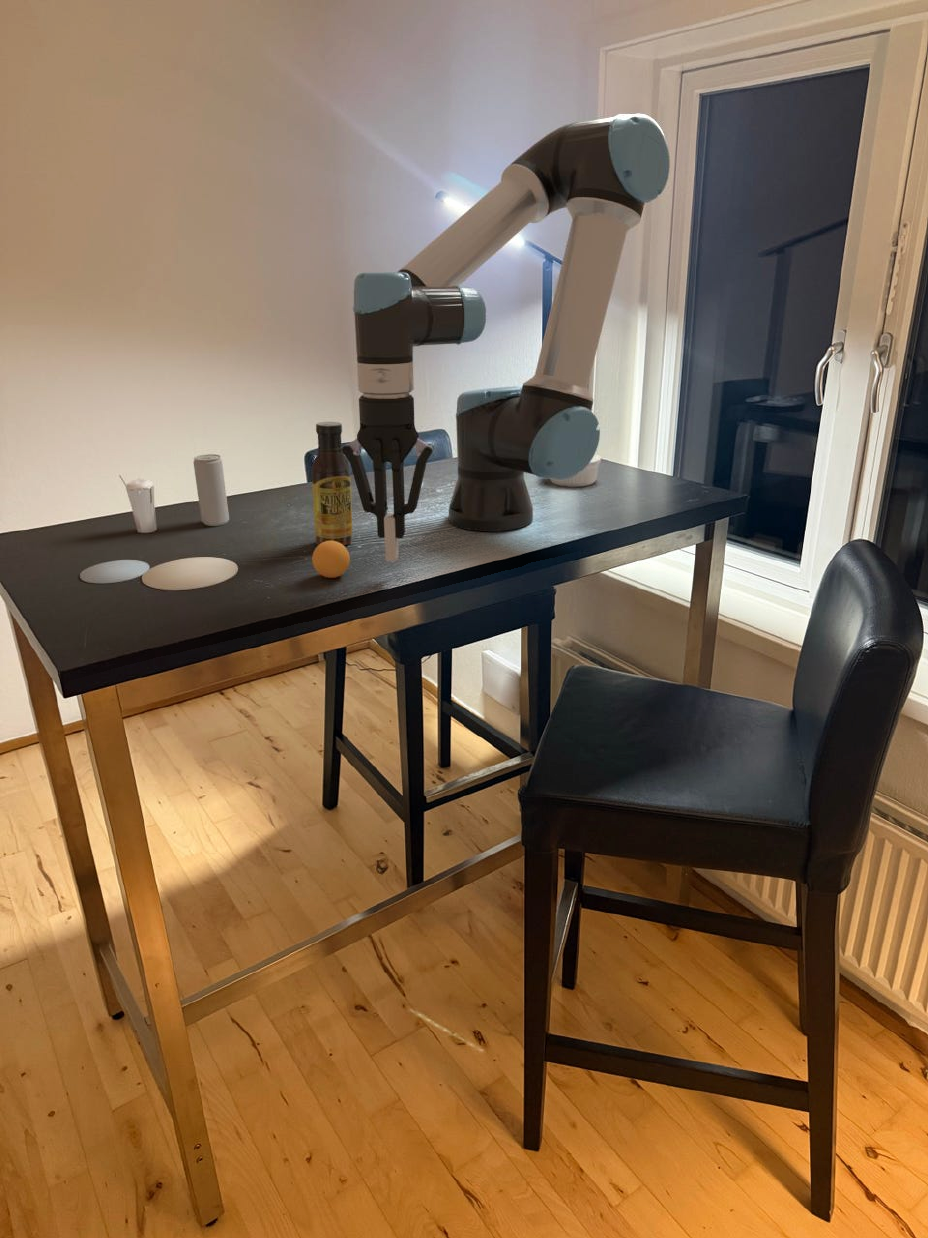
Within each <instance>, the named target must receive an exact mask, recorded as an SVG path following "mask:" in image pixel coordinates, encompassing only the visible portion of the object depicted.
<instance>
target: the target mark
mask: <svg viewBox="0 0 928 1238" xmlns="http://www.w3.org/2000/svg"><path fill="white" fill-rule="evenodd" d="M238 570H239V567H238V565H237V564H236V563H235V562H234V561H232V560H229V559H226V558H221V557H212V556H211V557H210V556H209V557H207V556H204V557H201V556H200V557H187V558H181V559H175V560H171V561H167V562H164V563H160V564H158V565H155V566H153V567H150V569H149V570H148V571H146V572H145V573H144V574H143V575H142V576H141V581H142V583H143V584H144V585H145V586H148V587H150V588H152V589H157V590H163V591H186V590H188V591H189V590H196V589H201V588H206V587H211V586H212V587H213V586H216V585H218V584H220V583H223V582H226V581H227V580H229V579H231V578H233V577H235V576H236V574H237V573H238Z"/></svg>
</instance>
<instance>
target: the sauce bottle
mask: <svg viewBox="0 0 928 1238" xmlns="http://www.w3.org/2000/svg"><path fill="white" fill-rule="evenodd" d="M315 425H316V426H315V432H316V434H317V441H318V442H317V444H318V447H317V455H316V457H315V459H314V462H313V464H312V469H311V470H312V482H311V483H312V502H313V521H314V522H313V523H314V534H315V541H316V544H317V546H318V545H320V544H321V543H323V542H325V541H336V542H339V543H341V544H342V545H343V546H345V547H346V546H349V545H350V544H351V543H352V539H353V538H352V535H353V532H354V530H353V511H352V510H353V509H352V505H353V504H352V481H351V480H352V479H351V471H350V466H349V465H350V463H349V461H348V459H347V458H346V457H345V455H344V454H343V452H342V448H343V445H342V444H343V443H342V433H343V424H342V423H341V422H340V421H321V422H317V423H316V424H315Z"/></svg>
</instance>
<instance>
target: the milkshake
mask: <svg viewBox="0 0 928 1238" xmlns="http://www.w3.org/2000/svg"><path fill="white" fill-rule="evenodd" d="M119 478H120V480H121V481H122V483H123V484H124V487H125V490H126V494H127V497H128V501H129V503H130V506H131V510H132V514H133V518H134V522H135V526H136V530H137V533H141V534H146V533H147V534H148V533H154V532H155V531H157V518H156V508H155V489H154V488H155V487H154V486H155V485H154V483H153V482H152V481H151V480H149V479H148V478H141V477H139V478H137V479H133V480H131V481H129V482H128V483H127V484H126V482H125V480H124V479H123V478H122V476H121V475H119Z"/></svg>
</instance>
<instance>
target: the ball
mask: <svg viewBox="0 0 928 1238" xmlns="http://www.w3.org/2000/svg"><path fill="white" fill-rule="evenodd" d="M350 560H351V558H350V553H349V550H348V548H346V545H345V546H343V545H342V544H341V543H339V542H336V541H325V542H323V543H321V544H320V545H318V544H317V546H316V547H315V549H314V551H313V553H312V566H313V568H314V570H315V571H316V572H317V573H318V574H319V575H321V576H323V577H325V578H329V579H331V578H333V579H334V578H338V577H340V576H341V575H343V574H345V572H347V570H348V568H349V566H350V562H351V561H350Z"/></svg>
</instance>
